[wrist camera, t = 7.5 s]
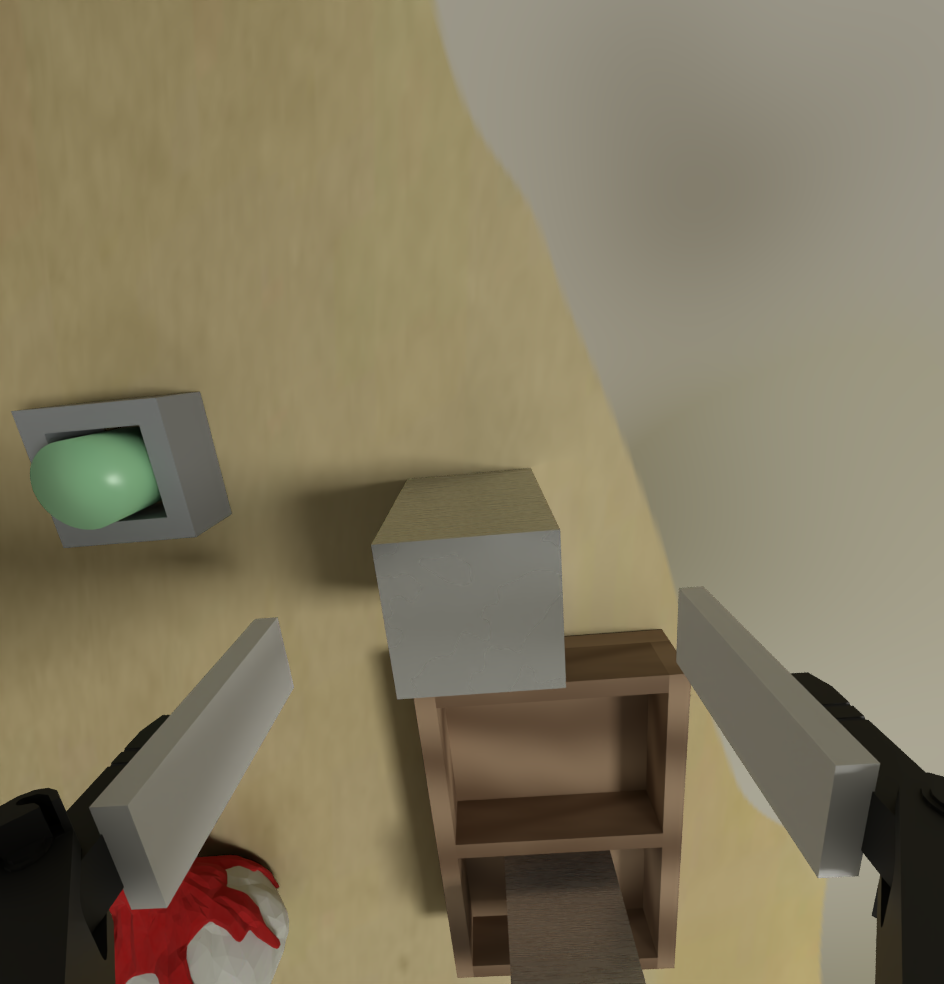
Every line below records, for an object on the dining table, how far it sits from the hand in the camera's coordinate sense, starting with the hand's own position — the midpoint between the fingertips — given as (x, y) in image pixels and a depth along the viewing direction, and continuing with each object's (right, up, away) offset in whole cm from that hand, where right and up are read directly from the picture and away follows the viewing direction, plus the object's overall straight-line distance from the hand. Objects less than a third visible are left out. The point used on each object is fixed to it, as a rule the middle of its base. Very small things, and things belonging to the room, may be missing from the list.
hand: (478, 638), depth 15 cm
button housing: (-15, +6, +7) cm, 18 cm away
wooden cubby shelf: (+4, -13, +13) cm, 19 cm away
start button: (-15, +6, +6) cm, 18 cm away
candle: (-17, -21, +16) cm, 31 cm away
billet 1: (0, +3, +8) cm, 8 cm away
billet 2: (+5, -18, +13) cm, 23 cm away
